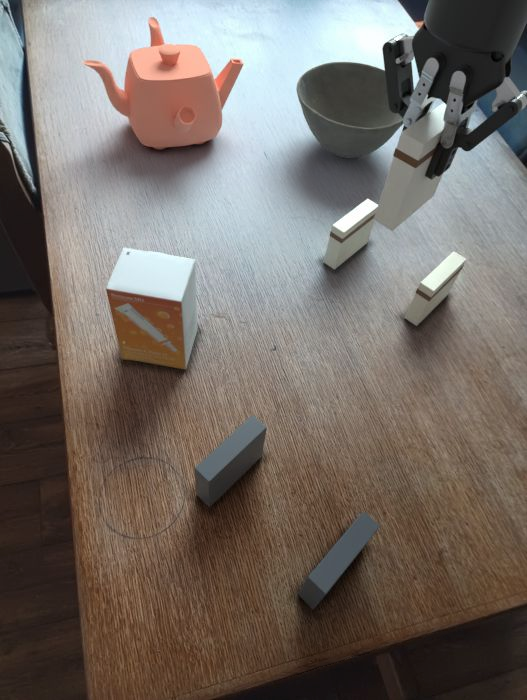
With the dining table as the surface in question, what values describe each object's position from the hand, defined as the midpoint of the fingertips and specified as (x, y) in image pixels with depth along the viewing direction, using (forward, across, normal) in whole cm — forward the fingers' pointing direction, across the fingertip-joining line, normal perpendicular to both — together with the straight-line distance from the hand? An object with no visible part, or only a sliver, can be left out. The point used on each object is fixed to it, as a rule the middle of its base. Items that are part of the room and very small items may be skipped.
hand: (419, 166), depth 53 cm
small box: (+24, +15, +22) cm, 36 cm away
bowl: (+24, +25, -28) cm, 44 cm away
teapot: (+24, +48, -9) cm, 54 cm away
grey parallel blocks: (+23, -10, +28) cm, 38 cm away
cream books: (+24, +2, -8) cm, 25 cm away
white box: (+5, 0, 0) cm, 5 cm away
